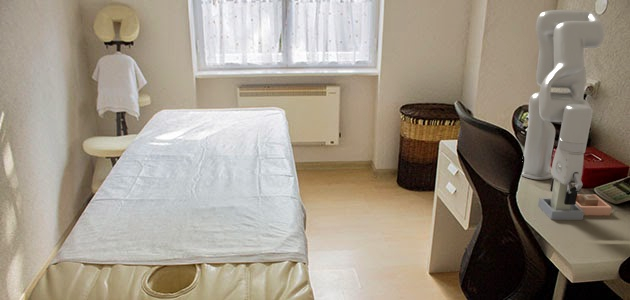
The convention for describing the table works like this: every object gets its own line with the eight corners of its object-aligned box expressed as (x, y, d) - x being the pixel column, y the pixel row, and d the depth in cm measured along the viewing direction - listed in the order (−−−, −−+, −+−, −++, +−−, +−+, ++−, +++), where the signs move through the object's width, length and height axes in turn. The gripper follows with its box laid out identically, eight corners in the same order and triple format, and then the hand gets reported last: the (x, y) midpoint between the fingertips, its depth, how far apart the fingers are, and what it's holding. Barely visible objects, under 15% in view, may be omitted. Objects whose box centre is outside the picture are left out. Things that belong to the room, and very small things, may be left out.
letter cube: (577, 205, 161) (579, 193, 160) (589, 205, 161) (592, 194, 160) (583, 211, 158) (585, 199, 156) (596, 211, 158) (598, 199, 156)
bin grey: (537, 207, 162) (539, 198, 160) (567, 207, 162) (569, 198, 160) (550, 221, 153) (552, 211, 151) (582, 221, 153) (584, 211, 151)
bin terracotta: (564, 203, 164) (566, 194, 163) (593, 204, 164) (595, 194, 163) (578, 217, 155) (580, 207, 154) (609, 217, 155) (611, 207, 154)
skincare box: (569, 216, 154) (576, 180, 150) (554, 215, 155) (560, 179, 151) (563, 207, 160) (569, 172, 156) (548, 206, 161) (555, 171, 156)
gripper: (546, 136, 158) (538, 186, 163) (573, 155, 141) (563, 210, 147) (570, 136, 157) (561, 186, 163) (599, 155, 141) (588, 210, 147)
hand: (562, 197), depth 155 cm, fingers open, 9 cm apart
